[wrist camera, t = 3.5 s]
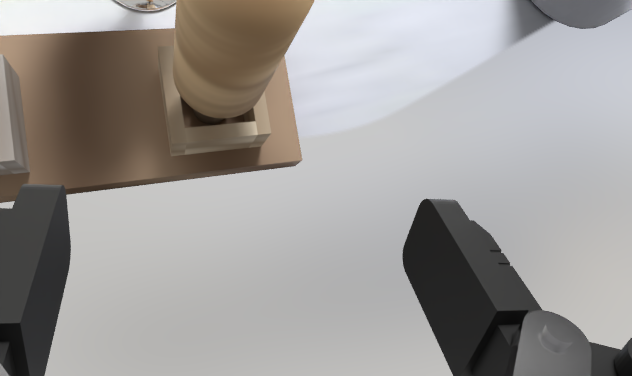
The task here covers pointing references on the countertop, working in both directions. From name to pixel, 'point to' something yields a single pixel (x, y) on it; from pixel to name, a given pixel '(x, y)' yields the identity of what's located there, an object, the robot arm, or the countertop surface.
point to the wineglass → (147, 4)
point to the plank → (123, 116)
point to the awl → (231, 51)
